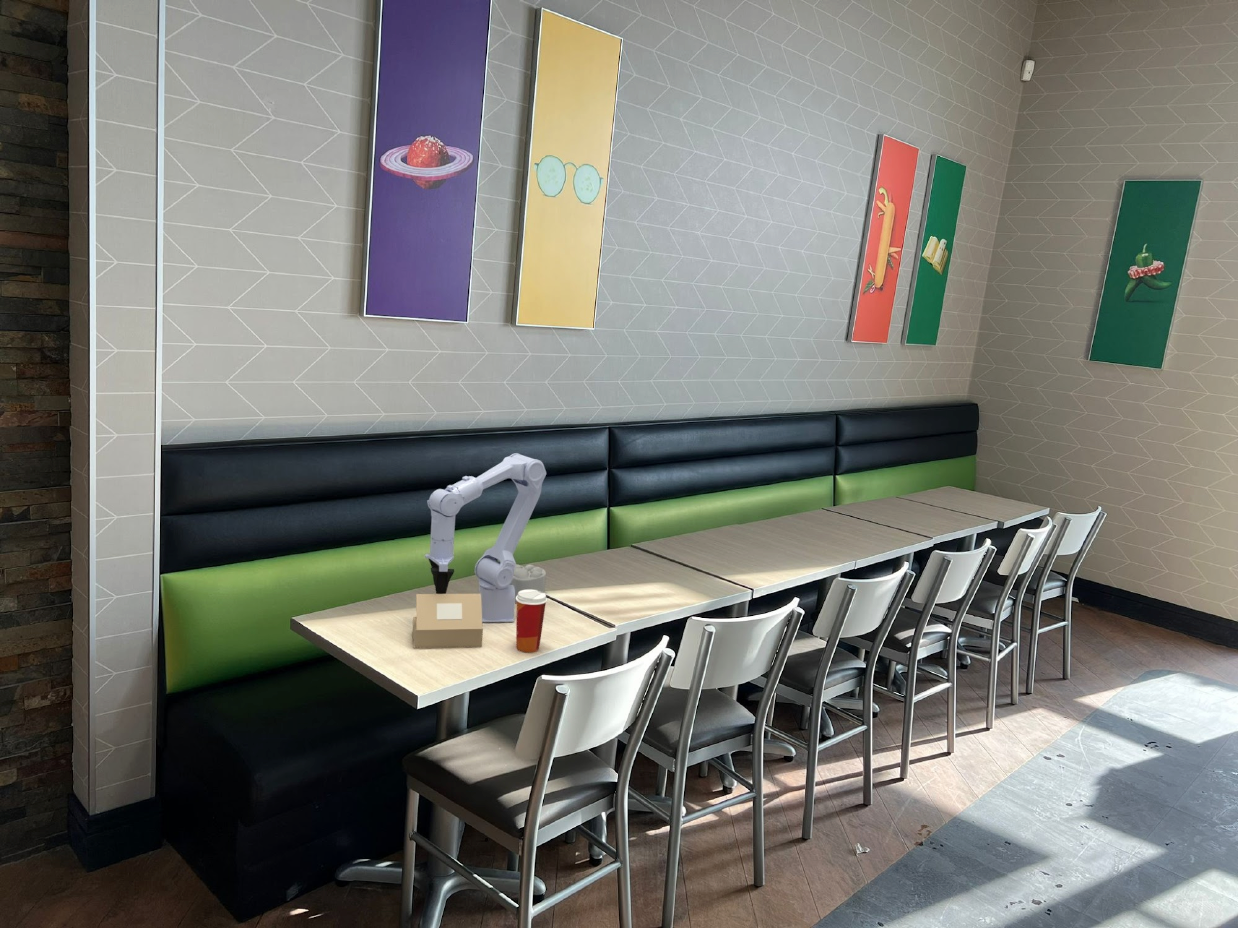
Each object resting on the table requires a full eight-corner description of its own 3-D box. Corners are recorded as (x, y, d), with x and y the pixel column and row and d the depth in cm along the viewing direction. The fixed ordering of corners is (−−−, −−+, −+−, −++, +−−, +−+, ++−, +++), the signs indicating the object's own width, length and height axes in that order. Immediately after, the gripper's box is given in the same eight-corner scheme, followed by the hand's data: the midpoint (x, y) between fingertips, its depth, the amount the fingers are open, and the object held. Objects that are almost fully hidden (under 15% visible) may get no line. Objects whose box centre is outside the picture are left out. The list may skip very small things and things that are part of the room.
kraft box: (477, 632, 231) (478, 615, 230) (481, 646, 222) (482, 629, 222) (412, 633, 226) (413, 616, 225) (414, 648, 218) (415, 630, 217)
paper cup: (527, 639, 229) (531, 586, 227) (549, 649, 225) (554, 595, 222) (505, 647, 223) (508, 592, 221) (527, 657, 219) (531, 601, 216)
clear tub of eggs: (495, 596, 258) (497, 567, 257) (526, 587, 269) (528, 558, 267) (522, 606, 252) (524, 576, 251) (553, 596, 263) (555, 567, 261)
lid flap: (480, 594, 226) (481, 593, 225) (482, 629, 221) (482, 628, 221) (416, 594, 221) (416, 593, 221) (416, 630, 217) (416, 629, 217)
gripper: (424, 529, 232) (421, 580, 235) (427, 546, 218) (425, 600, 221) (452, 529, 234) (449, 580, 237) (457, 546, 220) (454, 600, 223)
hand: (439, 590), depth 229 cm, fingers open, 7 cm apart
